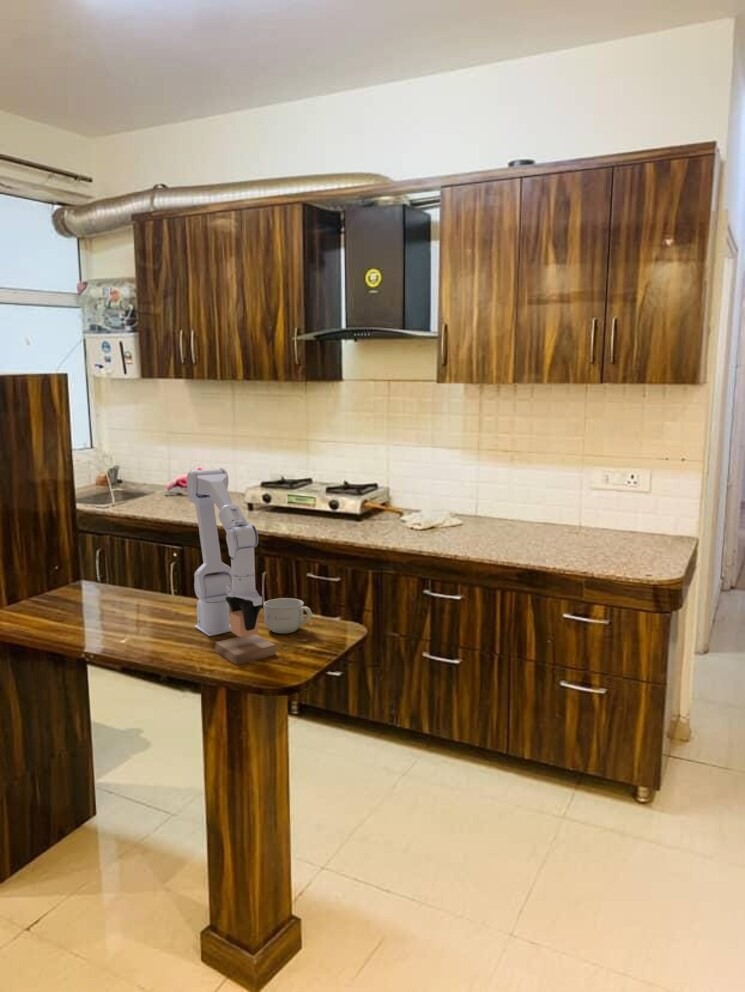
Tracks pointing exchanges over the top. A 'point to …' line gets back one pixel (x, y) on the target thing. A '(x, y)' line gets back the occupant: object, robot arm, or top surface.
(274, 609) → the teacup
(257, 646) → the walnut slab
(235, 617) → the terracotta block
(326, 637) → the top surface
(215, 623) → the robot arm
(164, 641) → the top surface
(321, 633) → the top surface
